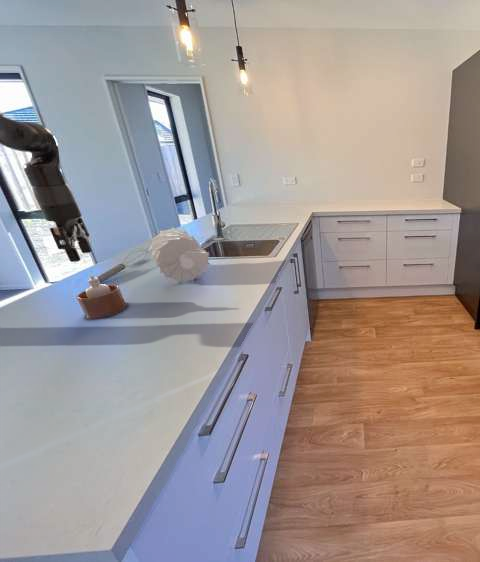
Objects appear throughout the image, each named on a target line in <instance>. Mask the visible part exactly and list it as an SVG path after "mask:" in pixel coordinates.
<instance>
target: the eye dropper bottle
mask: <svg viewBox="0 0 480 562" xmlns="http://www.w3.org/2000/svg"><path fill="white" fill-rule="evenodd" d="M87 282H88V284H89V287H87V288H86V289H85V291H86V294H87V296H88V298H94V297H98V296H102V295H105V294H108V293H110V292H111V291H110V289H109V287H108V285H109V284H105V283H100V282H99V279H98V278H96V277H95V275H93V274H91V275H89V279H88V280H87Z"/></svg>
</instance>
